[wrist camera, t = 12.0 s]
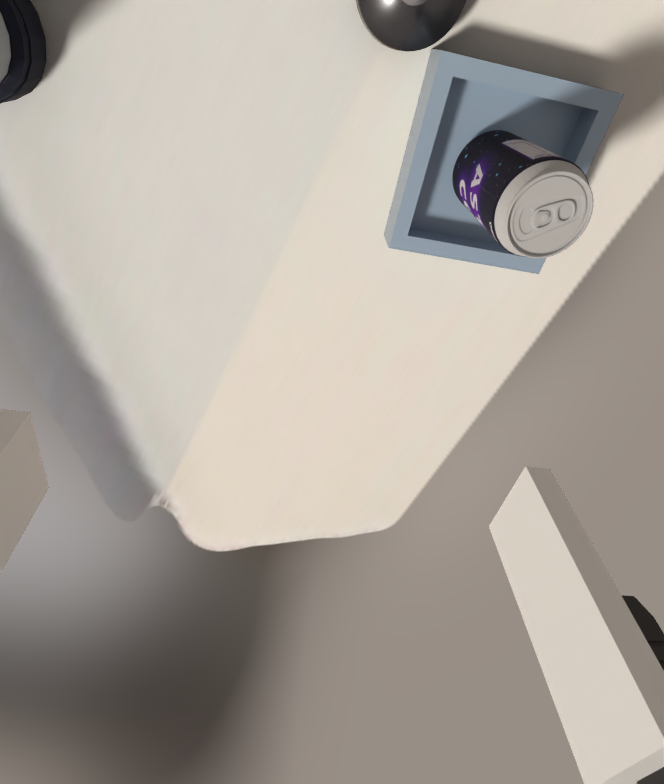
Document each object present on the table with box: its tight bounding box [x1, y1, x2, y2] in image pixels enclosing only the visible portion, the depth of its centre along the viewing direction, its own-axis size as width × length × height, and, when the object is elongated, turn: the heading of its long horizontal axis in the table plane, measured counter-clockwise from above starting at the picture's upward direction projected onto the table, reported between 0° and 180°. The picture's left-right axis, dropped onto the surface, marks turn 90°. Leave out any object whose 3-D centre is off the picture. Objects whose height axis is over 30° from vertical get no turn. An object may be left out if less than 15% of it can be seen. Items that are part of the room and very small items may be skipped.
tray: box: [384, 49, 624, 274], centre depth 36 cm, size 13×13×3 cm
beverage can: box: [452, 130, 593, 258], centre depth 32 cm, size 6×6×12 cm
